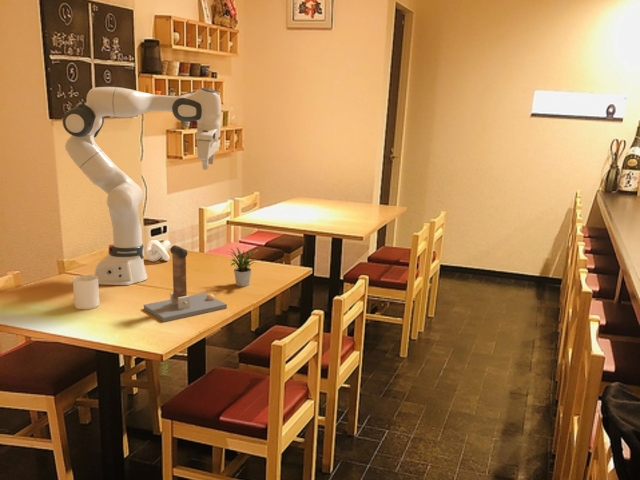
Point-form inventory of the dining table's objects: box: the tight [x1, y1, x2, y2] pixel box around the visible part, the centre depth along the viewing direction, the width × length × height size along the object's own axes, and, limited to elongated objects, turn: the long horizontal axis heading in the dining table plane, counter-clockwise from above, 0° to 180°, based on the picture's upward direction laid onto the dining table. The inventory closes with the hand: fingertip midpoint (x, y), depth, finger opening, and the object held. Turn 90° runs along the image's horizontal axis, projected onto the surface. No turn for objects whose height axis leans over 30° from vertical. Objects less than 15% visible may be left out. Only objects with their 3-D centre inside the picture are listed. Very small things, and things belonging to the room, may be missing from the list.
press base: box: [143, 292, 228, 323], centre depth 211 cm, size 24×16×6 cm, turn 129°
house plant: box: [225, 245, 260, 287], centre depth 239 cm, size 14×14×16 cm
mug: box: [72, 274, 100, 311], centre depth 212 cm, size 12×8×10 cm
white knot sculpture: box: [144, 239, 171, 263], centre depth 274 cm, size 11×12×9 cm
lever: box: [169, 244, 188, 302], centre depth 207 cm, size 3×6×19 cm, turn 39°
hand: (208, 166), depth 236 cm, fingers open, 8 cm apart
